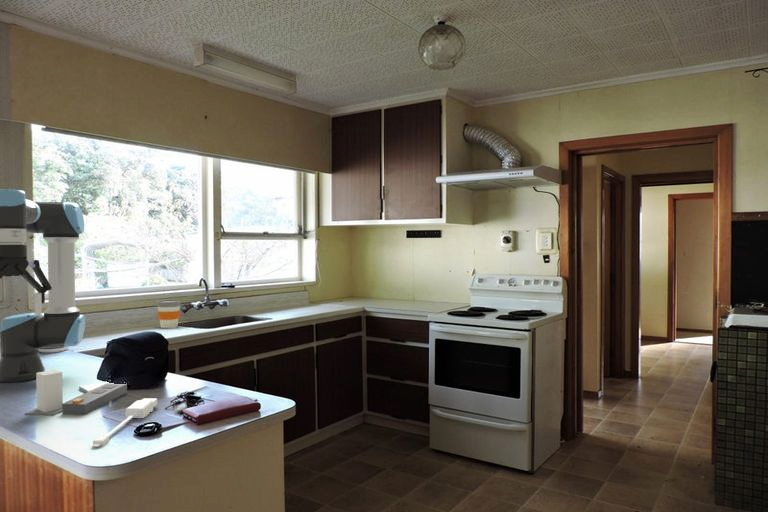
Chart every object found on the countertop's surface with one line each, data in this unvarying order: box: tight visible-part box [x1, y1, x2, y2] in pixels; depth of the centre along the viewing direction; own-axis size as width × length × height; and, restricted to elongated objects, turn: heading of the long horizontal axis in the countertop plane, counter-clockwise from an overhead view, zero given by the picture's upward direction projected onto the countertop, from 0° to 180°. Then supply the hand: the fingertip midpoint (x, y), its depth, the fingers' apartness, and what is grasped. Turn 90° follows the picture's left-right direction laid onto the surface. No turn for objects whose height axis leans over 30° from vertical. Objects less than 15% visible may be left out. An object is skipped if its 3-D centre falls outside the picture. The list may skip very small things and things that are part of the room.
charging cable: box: [91, 397, 159, 448], centre depth 149 cm, size 5×32×3 cm, turn 0°
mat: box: [24, 407, 62, 416], centre depth 162 cm, size 9×9×1 cm
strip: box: [61, 383, 128, 415], centre depth 173 cm, size 30×7×4 cm, turn 175°
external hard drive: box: [78, 381, 114, 394], centre depth 185 cm, size 2×8×12 cm
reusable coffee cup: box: [156, 299, 181, 329], centre depth 308 cm, size 13×13×15 cm
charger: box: [35, 369, 64, 412], centre depth 162 cm, size 5×5×11 cm
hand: (12, 317), depth 155 cm, fingers open, 13 cm apart
